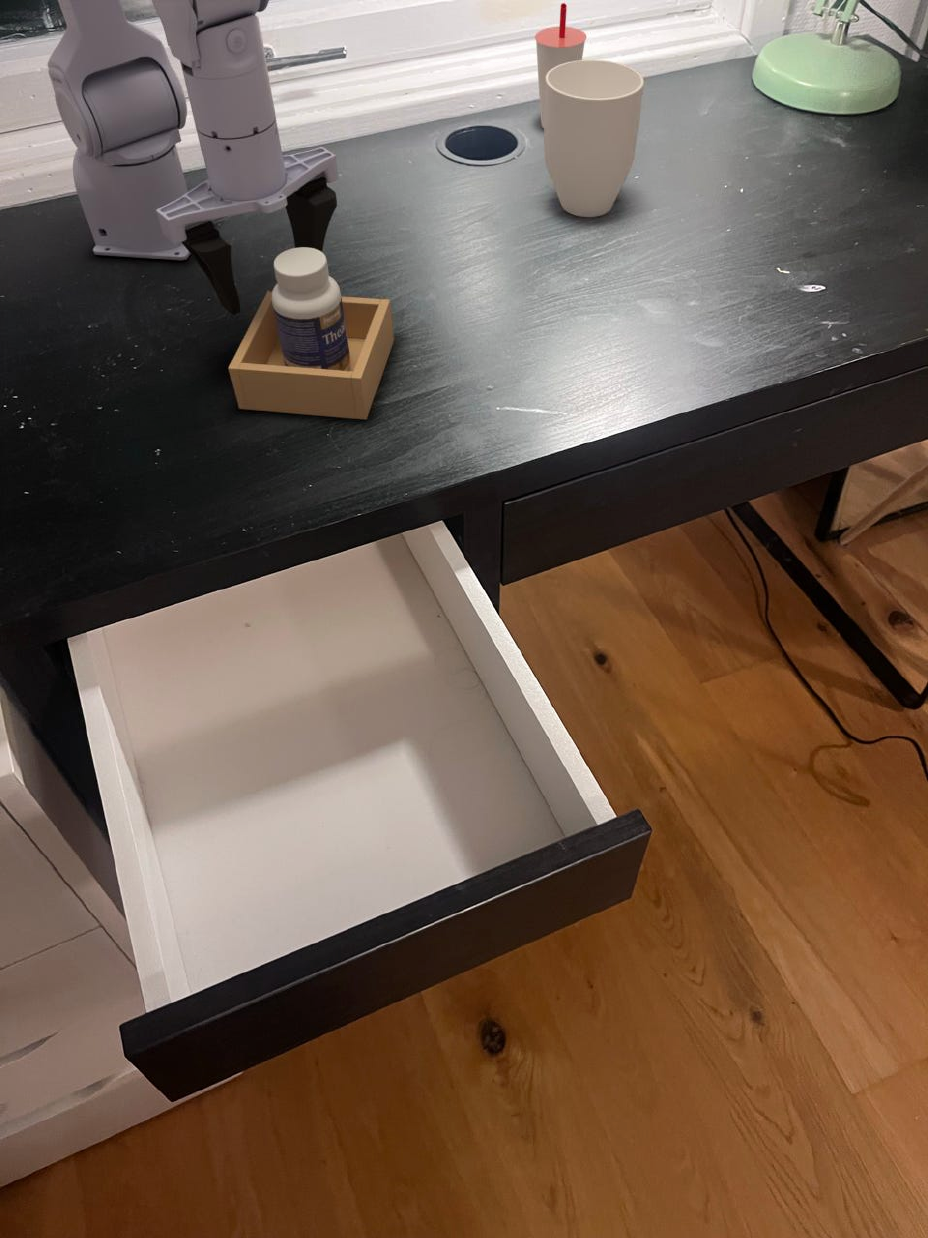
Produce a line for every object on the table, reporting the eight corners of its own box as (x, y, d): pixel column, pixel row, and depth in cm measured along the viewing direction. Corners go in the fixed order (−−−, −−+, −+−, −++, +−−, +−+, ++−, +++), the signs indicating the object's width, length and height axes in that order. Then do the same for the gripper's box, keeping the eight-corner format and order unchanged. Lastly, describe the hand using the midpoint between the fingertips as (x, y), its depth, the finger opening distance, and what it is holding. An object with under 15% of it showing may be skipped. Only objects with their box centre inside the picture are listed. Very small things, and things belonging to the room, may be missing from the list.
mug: (645, 218, 94) (661, 88, 84) (561, 235, 92) (568, 105, 83) (596, 164, 101) (606, 39, 91) (518, 180, 99) (520, 54, 90)
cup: (578, 136, 105) (586, 13, 95) (529, 134, 105) (532, 12, 96) (582, 114, 108) (590, -7, 99) (535, 112, 109) (538, -8, 99)
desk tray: (238, 408, 77) (227, 367, 74) (275, 331, 84) (267, 290, 80) (366, 419, 76) (360, 378, 73) (394, 340, 82) (390, 299, 79)
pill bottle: (341, 391, 77) (323, 283, 70) (278, 385, 78) (254, 277, 70) (359, 351, 81) (344, 244, 73) (298, 345, 81) (277, 238, 74)
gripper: (171, 174, 64) (218, 347, 74) (351, 108, 69) (370, 278, 80) (124, 137, 67) (175, 307, 78) (298, 77, 72) (324, 244, 83)
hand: (271, 290), depth 79 cm, fingers open, 7 cm apart
